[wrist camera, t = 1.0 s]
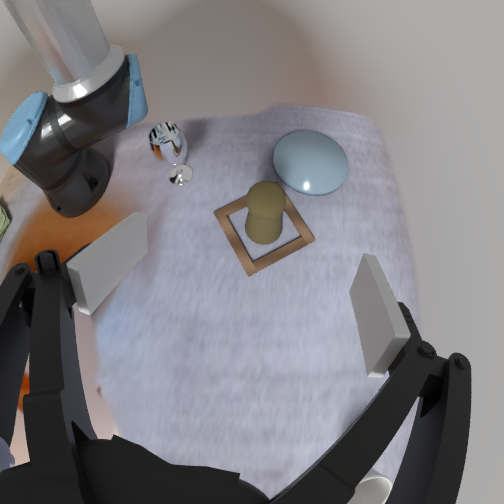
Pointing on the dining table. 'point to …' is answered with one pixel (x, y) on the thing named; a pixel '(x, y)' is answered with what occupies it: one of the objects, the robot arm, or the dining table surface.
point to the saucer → (310, 163)
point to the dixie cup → (372, 489)
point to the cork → (265, 212)
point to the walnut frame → (272, 257)
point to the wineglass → (170, 150)
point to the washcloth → (3, 221)
